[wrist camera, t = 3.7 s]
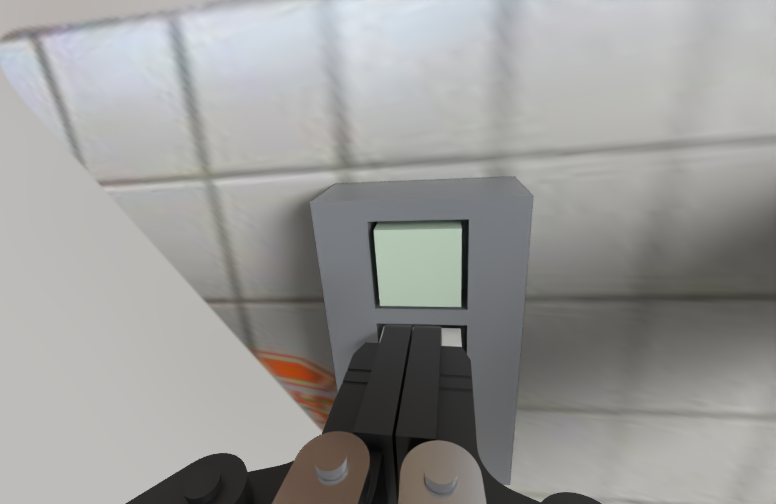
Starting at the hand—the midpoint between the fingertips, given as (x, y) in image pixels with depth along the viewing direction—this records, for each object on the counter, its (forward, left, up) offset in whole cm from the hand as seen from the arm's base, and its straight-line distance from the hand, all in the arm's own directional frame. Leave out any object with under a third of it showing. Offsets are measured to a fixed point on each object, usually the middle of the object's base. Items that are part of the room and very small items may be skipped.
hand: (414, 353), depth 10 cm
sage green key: (0, 0, -8) cm, 8 cm away
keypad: (0, +5, -10) cm, 12 cm away
